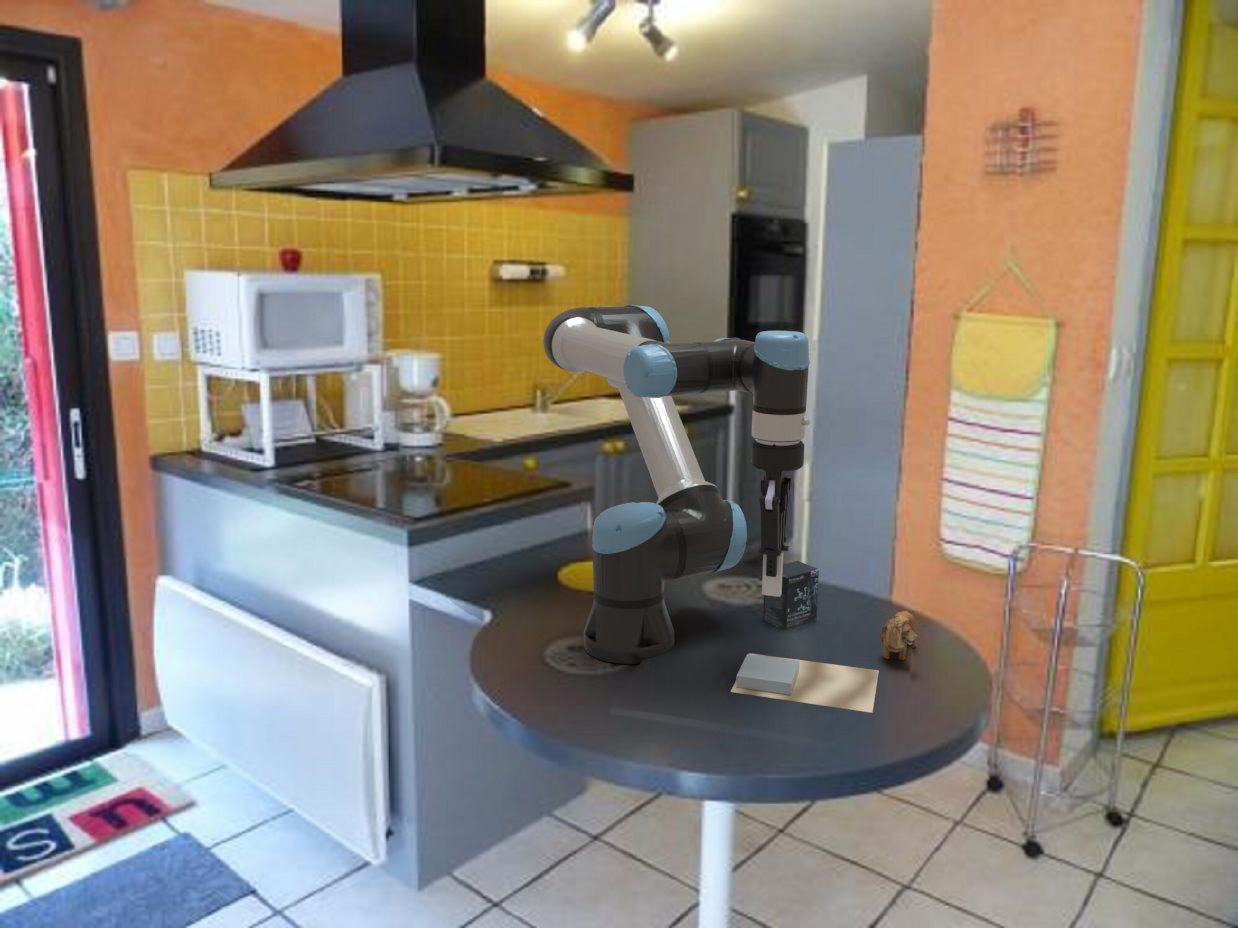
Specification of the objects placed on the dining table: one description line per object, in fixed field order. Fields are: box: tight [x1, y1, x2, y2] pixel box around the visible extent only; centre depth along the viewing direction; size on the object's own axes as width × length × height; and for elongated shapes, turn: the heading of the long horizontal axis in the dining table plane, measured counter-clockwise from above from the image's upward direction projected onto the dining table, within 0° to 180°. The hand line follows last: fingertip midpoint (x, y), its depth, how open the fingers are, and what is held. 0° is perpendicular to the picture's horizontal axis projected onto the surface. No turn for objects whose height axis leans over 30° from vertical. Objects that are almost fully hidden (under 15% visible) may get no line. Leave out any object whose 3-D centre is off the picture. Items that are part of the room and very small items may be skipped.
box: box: [762, 560, 820, 631], centre depth 158 cm, size 8×6×11 cm
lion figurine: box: [880, 610, 918, 661], centre depth 145 cm, size 15×5×9 cm, turn 161°
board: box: [730, 653, 880, 714], centre depth 136 cm, size 20×14×1 cm
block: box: [735, 653, 799, 695], centre depth 136 cm, size 8×2×8 cm
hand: (771, 593), depth 136 cm, fingers closed
